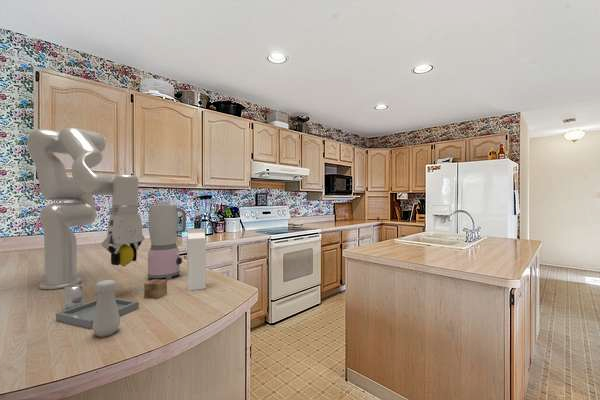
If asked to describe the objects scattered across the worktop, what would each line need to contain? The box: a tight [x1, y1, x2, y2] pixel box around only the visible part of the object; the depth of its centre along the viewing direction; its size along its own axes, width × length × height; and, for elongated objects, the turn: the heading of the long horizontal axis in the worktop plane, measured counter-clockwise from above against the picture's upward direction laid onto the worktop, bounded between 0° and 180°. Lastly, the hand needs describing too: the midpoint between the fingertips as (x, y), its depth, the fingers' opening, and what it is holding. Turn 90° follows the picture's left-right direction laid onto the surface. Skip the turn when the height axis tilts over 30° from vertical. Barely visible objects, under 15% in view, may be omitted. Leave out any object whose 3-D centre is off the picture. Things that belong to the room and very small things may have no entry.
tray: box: [55, 297, 140, 330], centre depth 81 cm, size 14×14×2 cm
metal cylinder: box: [64, 283, 85, 311], centre depth 85 cm, size 4×4×7 cm
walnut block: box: [143, 278, 168, 300], centre depth 96 cm, size 5×5×5 cm
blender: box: [147, 201, 187, 281], centre depth 118 cm, size 16×12×32 cm
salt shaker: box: [91, 279, 121, 338], centre depth 70 cm, size 6×6×13 cm
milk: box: [186, 227, 207, 292], centre depth 105 cm, size 6×6×22 cm
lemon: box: [118, 244, 134, 267], centre depth 97 cm, size 6×6×8 cm
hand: (124, 262), depth 97 cm, fingers closed on lemon, 5 cm apart
